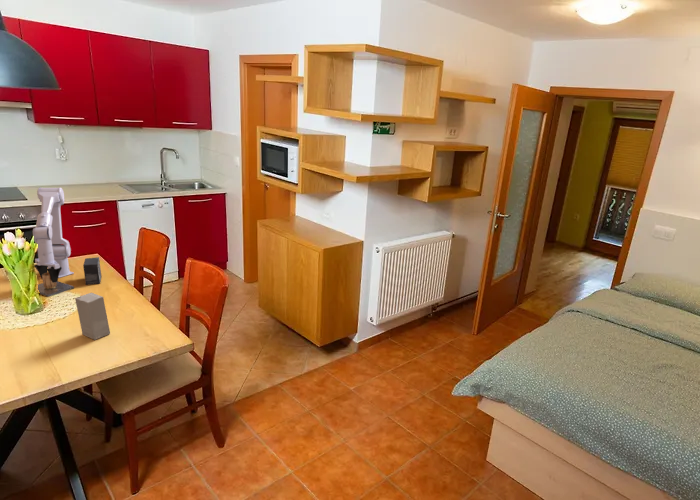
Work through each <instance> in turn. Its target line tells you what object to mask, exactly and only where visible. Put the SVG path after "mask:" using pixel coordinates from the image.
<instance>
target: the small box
mask: <svg viewBox="0 0 700 500" xmlns="http://www.w3.org/2000/svg"><path fill="white" fill-rule="evenodd" d="M100 261H101V260H100V257H89V258H85V259H84V263H83V266H82V267H83V272H84V273H83V274H84V280H85V281H84V282H85V285H86V286H91V285H101V283H102V282H101V280H102V276H103V275H102V270H101V262H100Z"/></svg>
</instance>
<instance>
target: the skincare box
mask: <svg viewBox="0 0 700 500" xmlns="http://www.w3.org/2000/svg"><path fill="white" fill-rule="evenodd" d="M74 299H75V305H76V309H77V314H78V319H79V324H80V329H81V334H82V335H83V336H86V337H88V338H89V339H90V340H91V339H92V340H94V341H95V340H98V339H101V338H103V337H106V336H108V335H110V334H111V331H110V330H111V329H110V326H109V325H110V324H109V319H108V315H107V308H106V306H105V304H106V303H105V299H104V296H102V295H99V294H96V293H94V292H89V293H85V294H83V295H80V296H77V297H75V298H74Z"/></svg>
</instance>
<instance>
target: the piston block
mask: <svg viewBox="0 0 700 500" xmlns="http://www.w3.org/2000/svg"><path fill="white" fill-rule="evenodd" d="M37 285H38V290H39V292H40V294H39V295H42V296H45V297H48V298H49V297H52V296H56V295H57V294H61V293H64V292H67V291H70V290H74V289H75V286H73V285H72V284H67V283H64V282H61V281H59V280H58V281H57V285H56V286H55V287H51V288H45V287H44V284H43V282H42V283H38V284H37Z"/></svg>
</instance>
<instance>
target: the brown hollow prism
mask: <svg viewBox="0 0 700 500" xmlns="http://www.w3.org/2000/svg"><path fill="white" fill-rule="evenodd" d="M42 278H43V279H42ZM42 278H41V279H42V283H43V284H44V287H45V288H51V287H55V286H56V285H57V282H54V283H53V282H52V281H51V277H50V274H49V272H48V271H47V272H46V273H43V274H42Z"/></svg>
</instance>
